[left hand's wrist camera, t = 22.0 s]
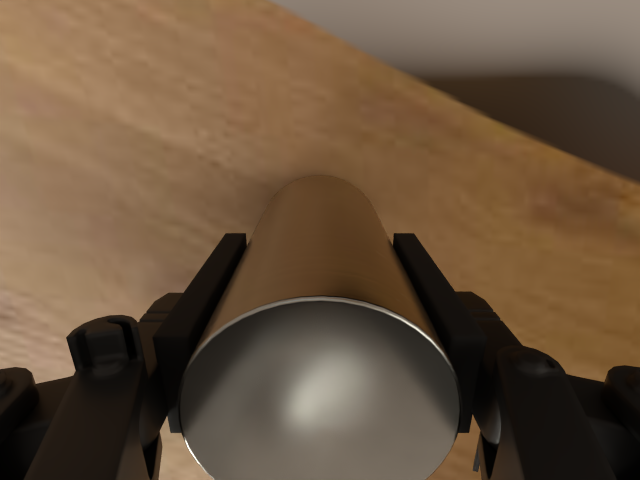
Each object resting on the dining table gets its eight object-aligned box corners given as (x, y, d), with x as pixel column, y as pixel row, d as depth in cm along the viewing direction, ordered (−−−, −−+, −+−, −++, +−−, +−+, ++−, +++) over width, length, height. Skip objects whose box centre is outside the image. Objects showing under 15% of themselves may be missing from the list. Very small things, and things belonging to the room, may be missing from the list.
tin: (365, 161, 16) (444, 265, 6) (388, 271, 18) (477, 494, 8) (245, 191, 17) (127, 335, 7) (280, 295, 19) (231, 535, 8)
